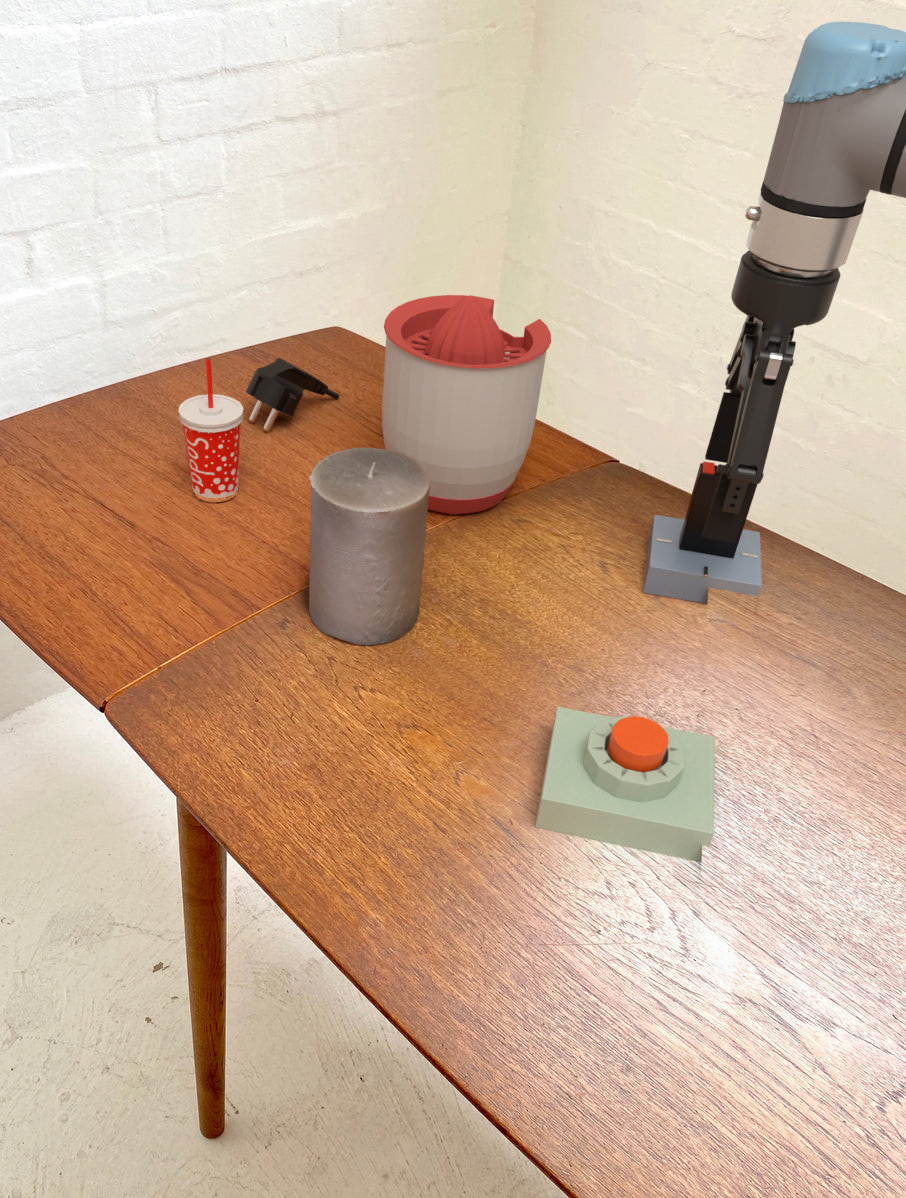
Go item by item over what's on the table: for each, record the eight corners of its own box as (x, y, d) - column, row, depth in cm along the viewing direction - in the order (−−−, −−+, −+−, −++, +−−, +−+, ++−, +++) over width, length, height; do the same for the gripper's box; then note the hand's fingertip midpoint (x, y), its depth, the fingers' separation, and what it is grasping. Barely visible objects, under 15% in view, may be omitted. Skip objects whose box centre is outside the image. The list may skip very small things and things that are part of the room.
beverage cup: (174, 484, 112) (163, 352, 102) (228, 469, 115) (222, 339, 105) (201, 513, 108) (192, 379, 99) (257, 497, 111) (253, 365, 101)
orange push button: (664, 739, 81) (669, 722, 80) (662, 777, 78) (667, 760, 77) (609, 728, 82) (614, 711, 80) (605, 766, 79) (610, 748, 78)
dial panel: (751, 557, 108) (760, 529, 105) (752, 613, 101) (762, 584, 99) (647, 539, 109) (654, 512, 107) (642, 593, 102) (649, 565, 100)
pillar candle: (395, 572, 103) (406, 425, 93) (434, 636, 96) (451, 485, 86) (294, 589, 100) (294, 440, 90) (327, 656, 93) (331, 503, 83)
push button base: (704, 766, 86) (721, 719, 82) (702, 863, 78) (720, 816, 75) (550, 735, 87) (561, 688, 84) (534, 828, 80) (545, 780, 77)
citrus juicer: (567, 484, 116) (602, 296, 102) (457, 547, 106) (480, 348, 93) (455, 428, 124) (474, 246, 110) (343, 482, 114) (350, 289, 100)
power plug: (356, 399, 125) (288, 364, 116) (325, 459, 127) (256, 429, 117) (324, 380, 128) (255, 344, 119) (294, 439, 130) (224, 409, 120)
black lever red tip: (733, 546, 103) (758, 469, 98) (733, 558, 102) (758, 480, 96) (679, 537, 104) (701, 459, 98) (678, 549, 102) (700, 471, 97)
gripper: (741, 200, 95) (681, 425, 109) (744, 315, 76) (671, 567, 91) (831, 212, 94) (759, 437, 108) (856, 332, 75) (765, 584, 90)
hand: (719, 497), depth 99 cm, fingers open, 13 cm apart
